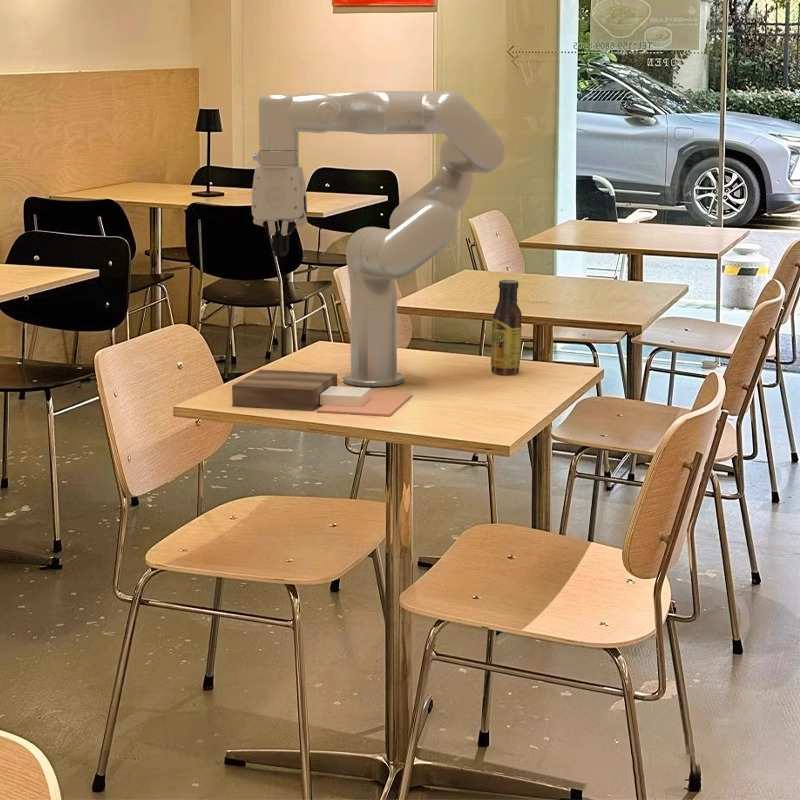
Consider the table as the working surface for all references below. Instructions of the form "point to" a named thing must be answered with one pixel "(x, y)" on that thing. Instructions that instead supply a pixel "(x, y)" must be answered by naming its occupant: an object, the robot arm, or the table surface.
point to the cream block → (345, 396)
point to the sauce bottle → (506, 331)
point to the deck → (282, 389)
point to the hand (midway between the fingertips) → (280, 255)
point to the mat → (372, 405)
